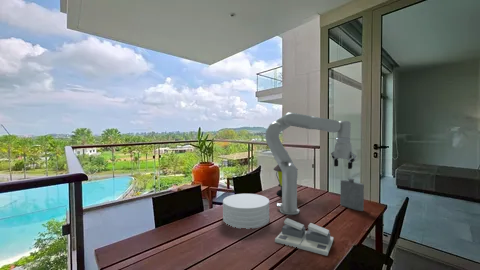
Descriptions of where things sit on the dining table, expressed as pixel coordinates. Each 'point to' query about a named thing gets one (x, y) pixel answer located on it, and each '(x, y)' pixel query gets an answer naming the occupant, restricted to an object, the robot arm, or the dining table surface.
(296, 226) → the left switch
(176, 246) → the dining table surface
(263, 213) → the plate stack
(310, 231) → the panel
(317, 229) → the right switch
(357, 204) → the hip flask
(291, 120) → the robot arm
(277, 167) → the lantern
